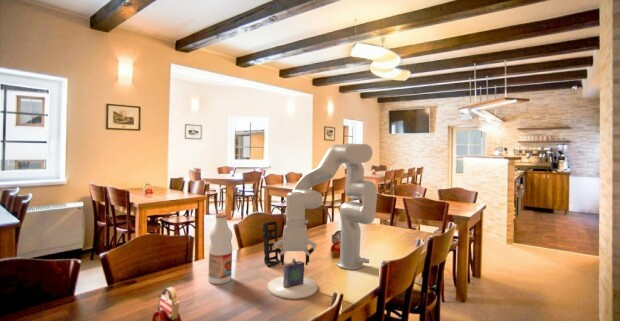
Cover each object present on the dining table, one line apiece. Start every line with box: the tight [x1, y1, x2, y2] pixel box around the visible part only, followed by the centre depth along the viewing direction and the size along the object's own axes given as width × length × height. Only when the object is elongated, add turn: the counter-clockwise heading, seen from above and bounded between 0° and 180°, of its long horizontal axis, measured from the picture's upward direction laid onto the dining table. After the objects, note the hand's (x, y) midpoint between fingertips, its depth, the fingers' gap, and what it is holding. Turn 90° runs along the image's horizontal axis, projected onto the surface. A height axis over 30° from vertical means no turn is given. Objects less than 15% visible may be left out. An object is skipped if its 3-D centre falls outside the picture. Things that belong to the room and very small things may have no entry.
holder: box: [262, 221, 281, 268], centre depth 160 cm, size 11×8×20 cm
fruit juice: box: [208, 212, 233, 285], centre depth 138 cm, size 9×9×28 cm
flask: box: [283, 258, 305, 288], centre depth 133 cm, size 9×3×11 cm, turn 123°
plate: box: [267, 275, 318, 300], centre depth 133 cm, size 20×20×1 cm
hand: (294, 264), depth 133 cm, fingers open, 9 cm apart
